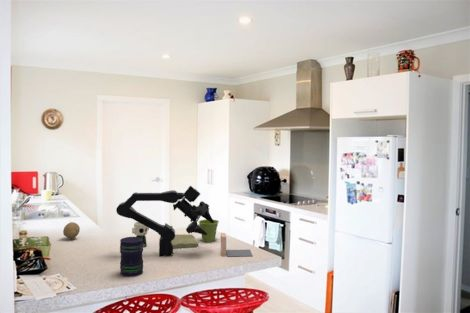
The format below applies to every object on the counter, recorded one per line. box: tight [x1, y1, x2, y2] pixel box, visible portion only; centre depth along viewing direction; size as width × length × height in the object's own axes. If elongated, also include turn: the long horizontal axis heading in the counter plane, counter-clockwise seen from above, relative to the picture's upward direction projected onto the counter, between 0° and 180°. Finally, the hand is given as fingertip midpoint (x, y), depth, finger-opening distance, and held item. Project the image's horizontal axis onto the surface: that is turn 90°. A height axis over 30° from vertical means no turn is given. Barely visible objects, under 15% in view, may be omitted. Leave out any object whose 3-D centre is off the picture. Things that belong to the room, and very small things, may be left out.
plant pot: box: [198, 219, 220, 243], centre depth 230 cm, size 12×12×11 cm
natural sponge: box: [62, 221, 81, 240], centre depth 230 cm, size 9×9×10 cm
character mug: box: [131, 221, 150, 247], centre depth 217 cm, size 11×7×13 cm, turn 139°
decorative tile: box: [171, 233, 199, 250], centre depth 223 cm, size 19×20×4 cm
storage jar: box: [119, 236, 144, 278], centre depth 175 cm, size 10×10×15 cm
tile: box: [220, 232, 227, 257], centre depth 205 cm, size 2×8×10 cm, turn 5°
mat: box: [226, 249, 254, 258], centre depth 206 cm, size 13×11×1 cm
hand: (210, 228), depth 205 cm, fingers open, 9 cm apart
